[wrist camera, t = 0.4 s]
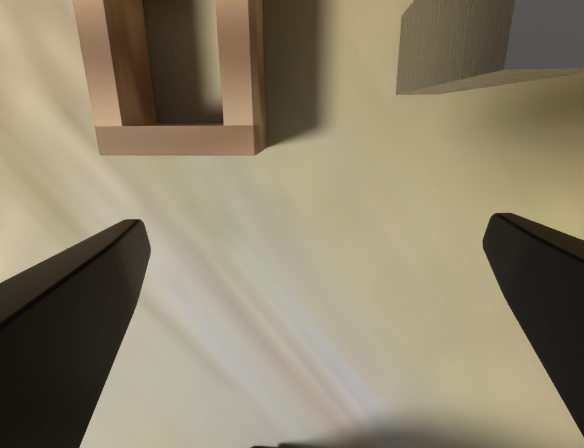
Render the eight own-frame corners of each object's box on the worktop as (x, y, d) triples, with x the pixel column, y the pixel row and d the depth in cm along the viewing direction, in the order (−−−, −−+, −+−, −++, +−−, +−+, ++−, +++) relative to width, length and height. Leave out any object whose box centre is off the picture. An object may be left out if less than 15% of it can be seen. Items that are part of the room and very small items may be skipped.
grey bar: (438, 94, 20) (619, 67, 8) (395, 94, 20) (503, 70, 8) (447, 14, 19) (680, -171, 6) (401, 16, 19) (540, -160, 7)
